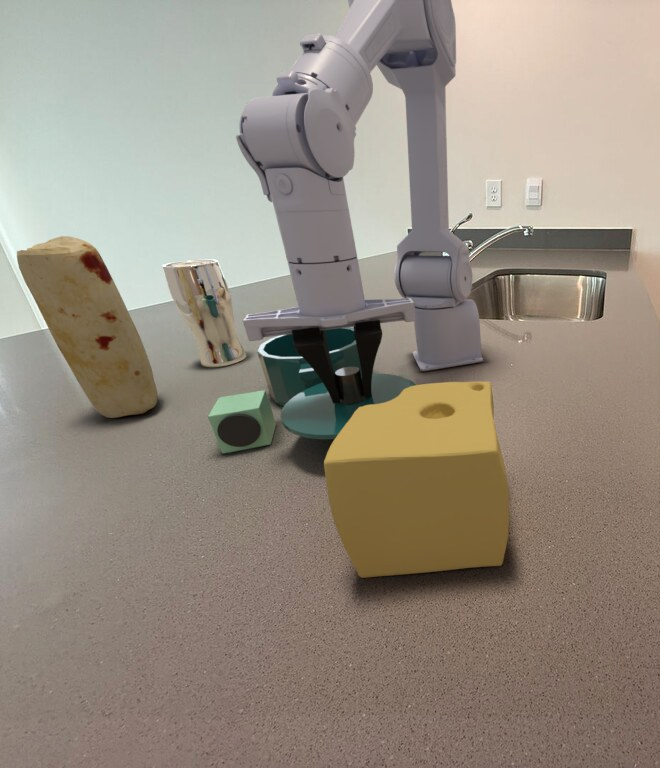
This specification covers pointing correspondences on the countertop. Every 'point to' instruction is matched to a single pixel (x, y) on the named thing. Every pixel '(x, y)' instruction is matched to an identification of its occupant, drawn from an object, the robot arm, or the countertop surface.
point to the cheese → (421, 482)
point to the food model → (90, 324)
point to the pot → (302, 362)
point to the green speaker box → (242, 421)
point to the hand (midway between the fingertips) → (352, 396)
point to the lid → (326, 419)
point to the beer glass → (206, 309)
